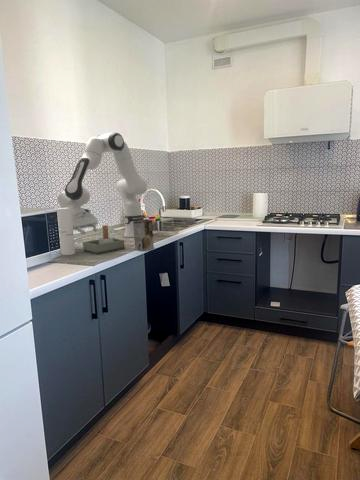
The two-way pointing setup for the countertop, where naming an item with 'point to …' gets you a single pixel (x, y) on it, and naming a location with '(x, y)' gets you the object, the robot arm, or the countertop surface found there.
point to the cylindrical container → (66, 231)
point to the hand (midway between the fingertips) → (90, 232)
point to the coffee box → (143, 235)
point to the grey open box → (103, 245)
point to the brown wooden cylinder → (105, 232)
